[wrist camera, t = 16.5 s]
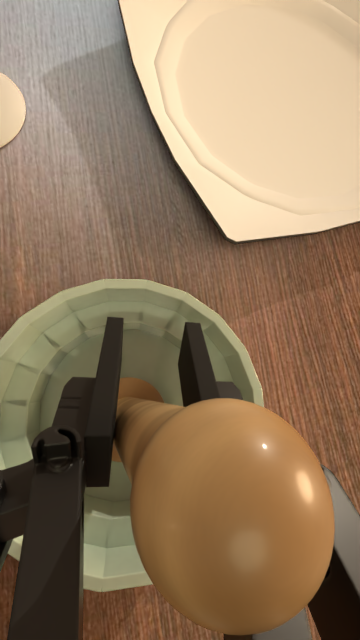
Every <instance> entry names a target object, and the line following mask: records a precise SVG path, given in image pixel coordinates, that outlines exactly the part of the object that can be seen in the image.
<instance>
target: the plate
mask: <svg viewBox="0 0 360 640" xmlns="http://www.w3.org/2000/svg"><path fill="white" fill-rule="evenodd" d="M118 4H119V9H120V13H121V17H122V21H123V26H124V30H125V34H126V39H127V43H128V47H129V51H130V56H131V60H132V64H133V68H134V71H135V73H136V76H137V79H138V81H139V84H140V87H141V89H142V92H143V94H144V97H145V100H146V102H147V105H148V108H149V110H150V113H151V115H152V117H153V119H154V122H155V124H156V126H157V128H158V130H159V132H160V134H161V136H162V138H163V140H164V142H165V144H166V147H167V149H168V151H169V153H170V155H171V157H172V159H173V161H174V163H175V165H176V166H177V168H178V169H179V171H180V172H181V174H182V175H183V177H184V178H185V180H186V181H187V183H188V184H189V186H190V187H191V189H192V190H193V192H194V193H195V195H196V196H197V198H198V199H199V201H200V202H201V204H202V205H203V207H204V208H205V210H206V211H207V213H208V214H209V216H210V217H211V219H212V220H213V222H214V223H215V225H216V226H217V228H218V229H219V231H220V232H221V234H222V235H223V237H224V238H225V240H227V241H229V242H231V243H233V244H241V243H249V242H256V241H264V240H272V239H279V238H287V237H295V236H302V235H310V234H317V233H321V232H325V231H328V230H332V229H336V228H340V227H343V226H347V225H351V224H355V223H359V222H360V0H118Z"/></svg>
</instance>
